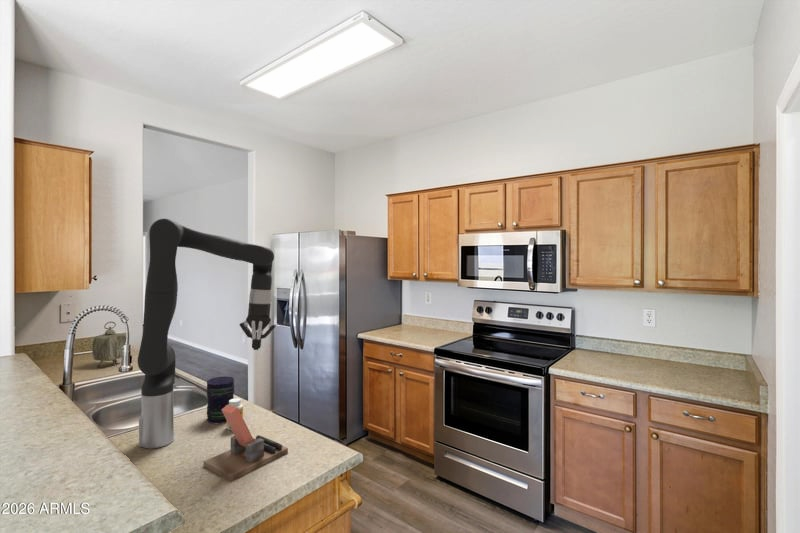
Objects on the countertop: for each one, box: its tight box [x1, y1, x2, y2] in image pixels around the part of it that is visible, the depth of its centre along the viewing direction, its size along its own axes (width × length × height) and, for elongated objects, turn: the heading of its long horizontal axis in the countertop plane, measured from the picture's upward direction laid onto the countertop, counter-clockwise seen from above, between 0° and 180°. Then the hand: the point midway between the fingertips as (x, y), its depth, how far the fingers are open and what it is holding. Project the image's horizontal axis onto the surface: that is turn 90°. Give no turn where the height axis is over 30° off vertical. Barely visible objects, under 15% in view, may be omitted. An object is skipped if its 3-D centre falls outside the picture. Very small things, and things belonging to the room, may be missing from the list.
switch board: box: [203, 434, 289, 482], centre depth 124 cm, size 20×14×6 cm
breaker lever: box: [222, 404, 255, 447], centre depth 122 cm, size 2×5×15 cm, turn 55°
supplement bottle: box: [226, 397, 244, 431], centre depth 147 cm, size 6×6×10 cm
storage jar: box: [206, 376, 235, 424], centre depth 155 cm, size 10×10×15 cm
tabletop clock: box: [91, 321, 127, 368], centre depth 228 cm, size 14×9×25 cm, turn 168°
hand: (256, 349), depth 145 cm, fingers closed
